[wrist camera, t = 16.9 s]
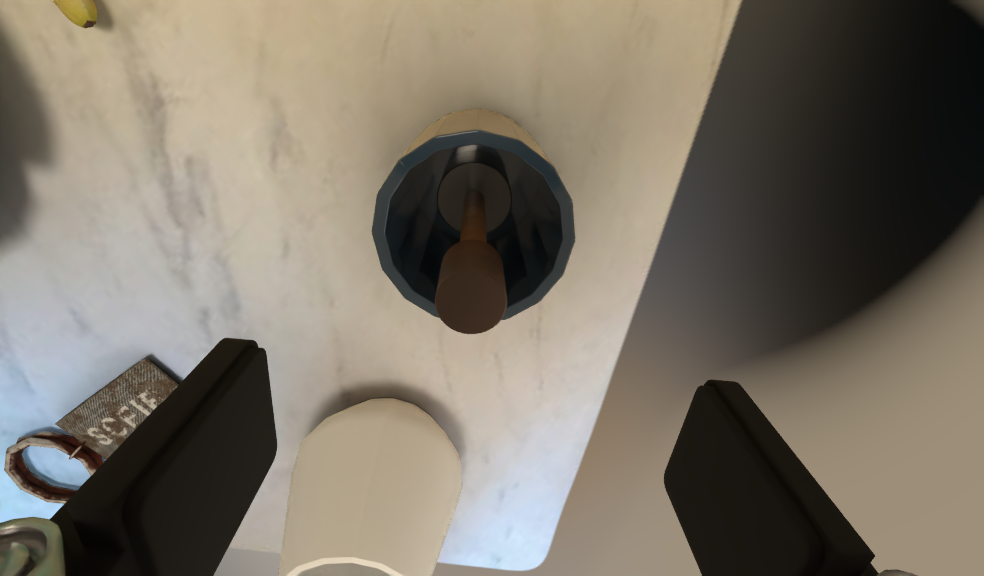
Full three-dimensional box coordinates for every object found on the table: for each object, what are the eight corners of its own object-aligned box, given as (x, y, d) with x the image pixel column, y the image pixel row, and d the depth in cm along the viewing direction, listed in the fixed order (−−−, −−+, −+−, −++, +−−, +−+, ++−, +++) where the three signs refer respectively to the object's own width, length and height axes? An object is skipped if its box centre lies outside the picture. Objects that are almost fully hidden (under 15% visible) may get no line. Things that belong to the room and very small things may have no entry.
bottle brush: (521, 177, 30) (564, 290, 15) (482, 228, 32) (485, 379, 17) (466, 136, 29) (453, 213, 14) (428, 191, 31) (378, 317, 15)
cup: (309, 484, 43) (239, 658, 30) (312, 366, 37) (227, 519, 25) (452, 500, 44) (442, 672, 32) (476, 388, 39) (475, 544, 26)
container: (572, 166, 31) (616, 214, 21) (490, 269, 34) (495, 353, 24) (458, 77, 28) (447, 83, 18) (381, 196, 31) (336, 257, 21)
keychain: (220, 410, 39) (208, 427, 37) (78, 503, 43) (61, 522, 41) (142, 346, 36) (124, 360, 34) (-2, 452, 40) (-24, 470, 38)
